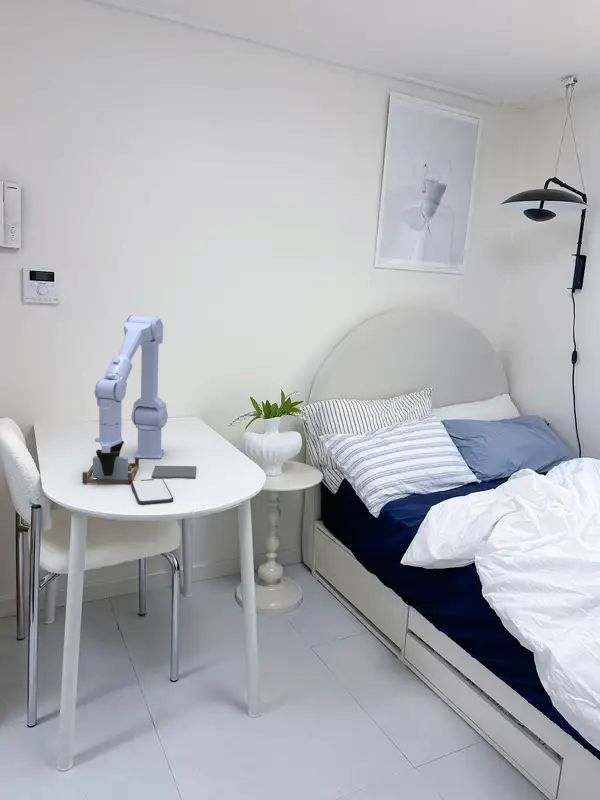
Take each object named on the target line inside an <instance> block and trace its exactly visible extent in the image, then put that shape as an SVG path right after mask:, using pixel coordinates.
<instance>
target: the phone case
mask: <svg viewBox="0 0 600 800" xmlns="http://www.w3.org/2000/svg"><path fill="white" fill-rule="evenodd" d="M130 487H131V490H132V493H133V496H134V498H135V500H136V502H137V504H138V505H140V506H147V505H148V506H149V505H159V504H170V503H173V502H174V497H173V494H172V493H171V492H170V489H169V487H168V485H167V483H166V482H165V480H164V478H150V479H149V478H148V479H135V480H133V481H132V482H131V484H130Z"/></svg>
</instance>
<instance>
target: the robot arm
mask: <svg viewBox="0 0 600 800" xmlns="http://www.w3.org/2000/svg"><path fill="white" fill-rule="evenodd" d="M123 332H124V338H123V341H122V345H121V347H120V350H119V352H118V355H117V356H114V357H113V358H112V359H111V361H110V364H109V366H108V368H107V370H106V372H105V373H104V376H103V377H102V378H101V379H99V380H98V381H97V382H96V384H95V387H94V390H93V391H94V393H93V394H94V396H95V398H96V405H97V406H98V419H99V420H98V423H99V424H98V429H99V436H98V437H95V438H94V442H96V443H99V444H100V446H101V449H96V451H95V454H96V456H98V458H99V460H100V462H101V466H102V470H103V474H104V476H112V474H113V470H114V463H115V459H116V456H118V457H120V453H121V449H122V447H123V446H124V444H125V441H124V440H123V438H122V401H123V400H124V399H125V397H126V393H127V385H128V384H127V380H128V378H129V376H130V373H131V372H132V368H133V364H132V362H131V361H132V359H133V358H134V356H135V354H136V352H137V350H138V349H139V347H140V348H141V359H140V360H141V365H140V367H141V369H140V370H141V371H140V372H141V374H140V379H141V380H140V397H139V398H138V399H136V400H135V401H134V402H133V406H132V407H133V408H132V411H131V421H132V424H133V425H134V426H135V429H137V451H136V453H135V455H134V458H135V457H139V459H162V457H163V453H164V451H165V450H164V448H162V429H163V428H165V426H166V425H167V423H168V418H169V417H168V416H169V415H168V411H167V403H166V402H165V401H164V400H163V399H162V398H160V397H159V396H158V395H159V392H158V390H159V345H160V344H163V340H164V338H163V337H164V323H163V322H162V320H161V318H160V317H158V316H155V317H154V316H141V315H131V314H129V315H127V316H126V318H125V319H124V324H123Z"/></svg>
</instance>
